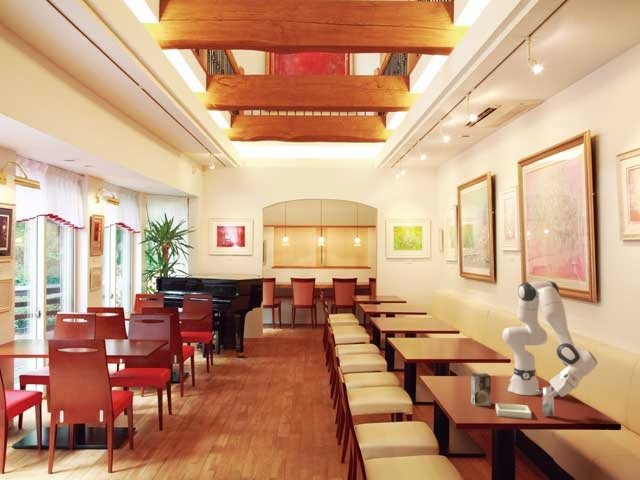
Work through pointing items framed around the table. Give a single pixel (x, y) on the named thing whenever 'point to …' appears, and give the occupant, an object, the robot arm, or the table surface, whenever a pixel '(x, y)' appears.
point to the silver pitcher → (547, 400)
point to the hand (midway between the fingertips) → (547, 395)
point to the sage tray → (513, 410)
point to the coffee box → (480, 389)
